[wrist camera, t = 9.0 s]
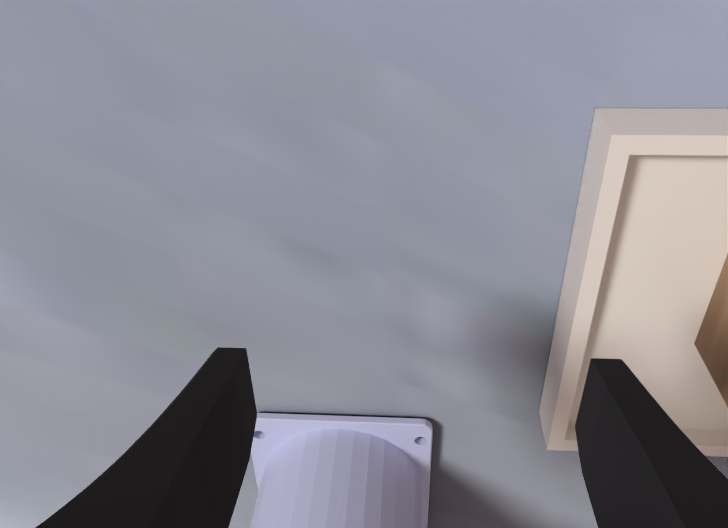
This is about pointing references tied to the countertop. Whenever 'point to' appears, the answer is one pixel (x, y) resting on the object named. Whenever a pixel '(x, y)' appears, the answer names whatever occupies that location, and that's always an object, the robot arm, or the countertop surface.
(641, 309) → the serving dish
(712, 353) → the walnut block
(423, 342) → the countertop surface
